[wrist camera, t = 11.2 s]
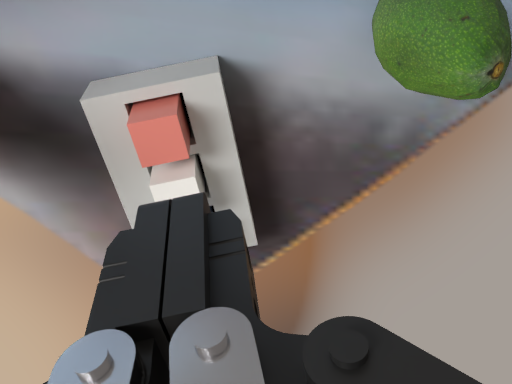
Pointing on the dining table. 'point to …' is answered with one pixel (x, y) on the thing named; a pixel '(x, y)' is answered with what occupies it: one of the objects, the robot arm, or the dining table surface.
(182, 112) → the red key
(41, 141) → the dining table surface
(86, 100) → the button panel
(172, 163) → the white key
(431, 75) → the avocado
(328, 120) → the dining table surface
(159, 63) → the dining table surface
